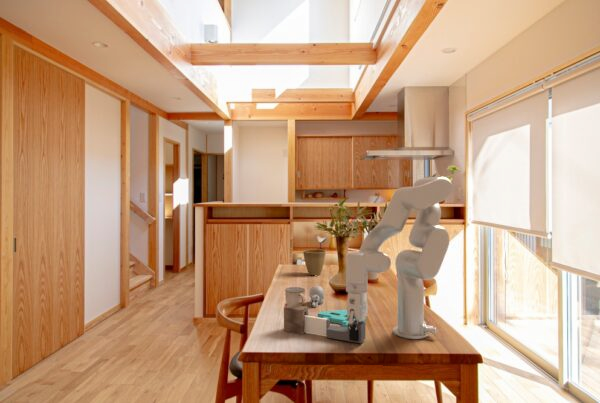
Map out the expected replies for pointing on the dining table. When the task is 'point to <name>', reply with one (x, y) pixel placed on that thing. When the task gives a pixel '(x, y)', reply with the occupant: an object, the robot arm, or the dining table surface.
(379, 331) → the dining table surface
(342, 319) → the alien figure
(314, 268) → the plant pot
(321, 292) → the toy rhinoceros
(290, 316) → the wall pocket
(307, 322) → the gate
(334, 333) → the grey stepped block
